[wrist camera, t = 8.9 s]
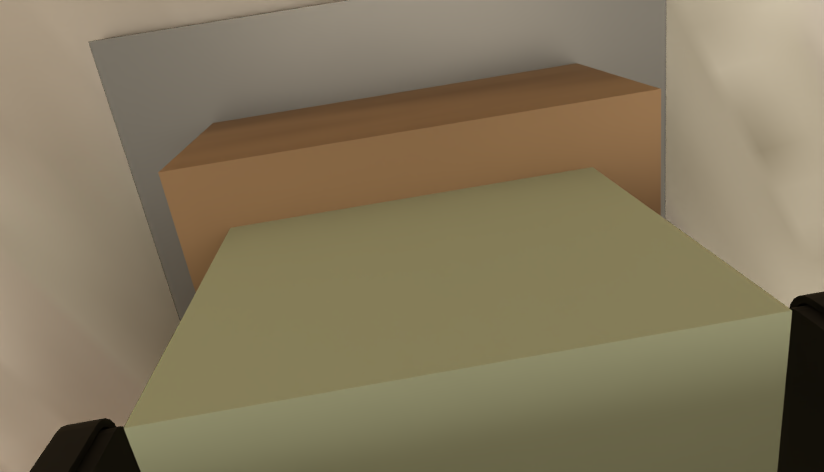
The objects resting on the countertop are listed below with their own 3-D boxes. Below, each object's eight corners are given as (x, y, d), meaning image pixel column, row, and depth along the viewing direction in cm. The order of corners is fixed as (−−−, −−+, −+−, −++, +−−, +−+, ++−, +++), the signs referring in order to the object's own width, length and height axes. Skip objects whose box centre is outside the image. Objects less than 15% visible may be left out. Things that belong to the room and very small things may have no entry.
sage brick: (603, 454, 12) (753, 728, 8) (307, 507, 12) (279, 820, 8) (593, 167, 10) (791, 310, 6) (230, 227, 10) (123, 427, 5)
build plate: (651, 399, 18) (664, 417, 17) (242, 473, 18) (237, 494, 17) (649, -48, 14) (665, -51, 13) (103, 39, 13) (88, 42, 13)
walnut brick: (591, 369, 16) (659, 478, 13) (293, 422, 16) (276, 548, 13) (576, 63, 14) (661, 89, 10) (212, 123, 13) (157, 172, 10)
